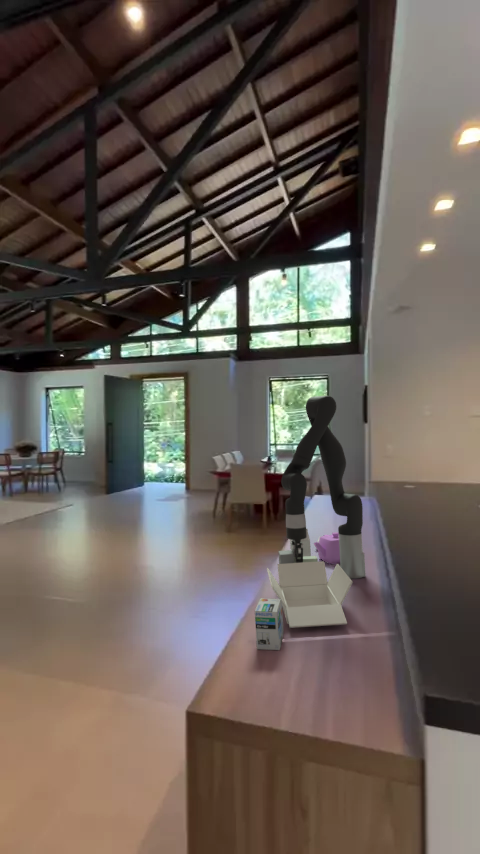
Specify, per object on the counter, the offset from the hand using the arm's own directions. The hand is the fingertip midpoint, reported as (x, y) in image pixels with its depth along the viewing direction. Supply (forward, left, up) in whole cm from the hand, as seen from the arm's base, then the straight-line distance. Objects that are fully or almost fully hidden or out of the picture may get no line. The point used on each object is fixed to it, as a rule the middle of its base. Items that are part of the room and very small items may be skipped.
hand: (298, 570), depth 176 cm
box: (0, 0, 0) cm, 0 cm away
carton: (0, +23, -8) cm, 24 cm away
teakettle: (-23, -38, -8) cm, 45 cm away
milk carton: (-4, -19, -8) cm, 21 cm away
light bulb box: (+14, +41, -8) cm, 44 cm away
